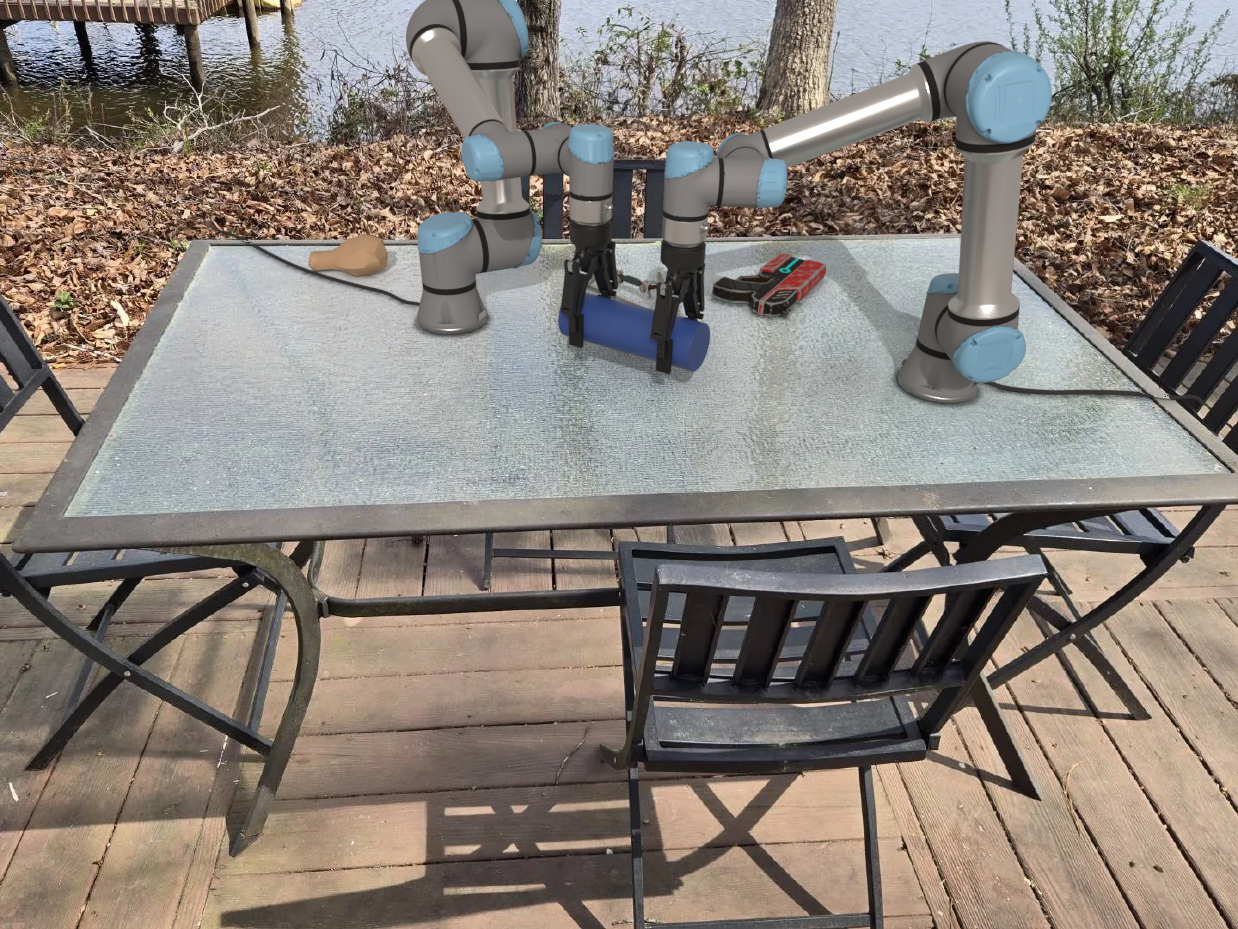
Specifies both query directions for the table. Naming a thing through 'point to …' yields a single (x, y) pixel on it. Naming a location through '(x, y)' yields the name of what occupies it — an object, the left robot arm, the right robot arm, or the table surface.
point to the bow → (637, 284)
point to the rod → (639, 331)
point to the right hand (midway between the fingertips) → (675, 361)
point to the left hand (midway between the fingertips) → (589, 336)
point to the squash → (353, 256)
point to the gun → (772, 285)
